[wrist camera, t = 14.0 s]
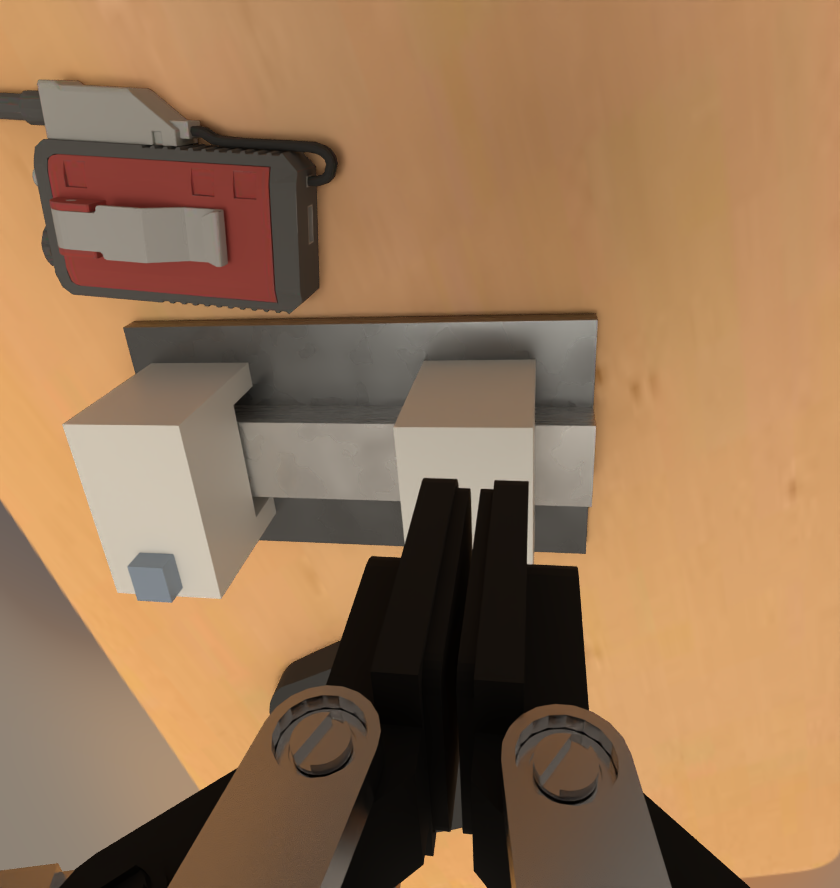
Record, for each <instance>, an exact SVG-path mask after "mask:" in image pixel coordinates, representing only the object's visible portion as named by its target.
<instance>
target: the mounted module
mask: <svg viewBox="0 0 840 888" xmlns="http://www.w3.org/2000/svg"><path fill="white" fill-rule="evenodd" d="M251 387H252V380H251V375H250V370H249V364H248V363H151V364H150V365H148V366H147V367H145V368H144V369H142V370H141V371H139V372H138V373H136V374H135V375H134V376H132V377H131V378H129V379H128V380H126V381H125V382H123V383H122V384H120V385H119V386H117V387H116V388H115V389H113V390H112V391H110V392H109V393H107V394H106V395H104V396H103V397H101V398H100V399H99V400H97V401H96V402H94V403H93V404H91V405H90V406H88V407H87V408H85V409H84V410H83V411H81V412H80V413H78V414H77V415H75V416H74V417H72V418H71V419H69V420H68V421H67V422H65V423H64V424H62V425H63V428H64V431H65V434H66V437H67V440H68V443H69V446H70V449H71V452H72V455H73V458H74V461H75V464H76V468H77V471H78V474H79V477H80V480H81V483H82V486H83V489H84V492H85V495H86V498H87V501H88V504H89V507H90V510H91V513H92V516H93V519H94V522H95V525H96V528H97V531H98V534H99V537H100V540H101V543H102V547H103V550H104V553H105V556H106V559H107V562H108V565H109V568H110V571H111V574H112V577H113V580H114V583H115V586H116V589H117V592H118V593H130V594H136V596H137V600H138V601H154V602H171V603H172V602H173V600H174V599H175V598H176V596H182V597H199V598H216V599H221V598H222V597H223V595H224V594H225V592H226V590H227V589H228V587H229V586H230V584H231V583H232V581H233V580H234V578H235V576H236V575H237V573H238V572H239V570H240V569H241V567H242V566H243V564H244V562H245V561H246V559H247V558H248V556H249V555H250V553H251V552H252V550H253V548H254V547H255V545H256V544H257V542H258V541H259V539H260V537H261V536H262V534H263V533H264V531H265V530H266V528H267V527H268V525H269V523H270V522H271V520H272V519H273V517H274V516H275V514H276V509H275V503H274V498H273V497H252V494H251V489H250V484H249V479H248V474H247V469H246V465H245V460H244V455H243V450H242V445H241V440H240V435H239V430H238V425H237V420H236V415H235V410H234V406H233V405H234V404H235V403H236V402H237V401H238V400H239V399H240V398H241V397H242V396H243V395H244V394H245V393H246V392H247V391H248V390H249V389H250V388H251Z"/></svg>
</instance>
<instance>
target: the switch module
mask: <svg viewBox="0 0 840 888" xmlns="http://www.w3.org/2000/svg"><path fill="white" fill-rule="evenodd" d="M535 388H536V359H526V360H445V361H423V363H422V365H421V368H420V370H419V372H418V374H417V376H416V379H415V381H414V383H413V385H412V387H411V389H410V392H409V394H408V396H407V398H406V400H405V403H404V405H403V407H402V409H401V411H400V414H399V416H398V418H397V420H396V422H395V425H394V427H393V430H394V440H395V450H396V460H397V470H398V480H399V491H400V501H401V511H402V521H403V531H404V542H405V541H406V538H407V534H408V530H409V526H410V523H411V519H412V515H413V512H414V508H415V504H416V501H417V497H418V493H419V490H420V486H421V482H422V480H423V478H446V479H457V480H458V485H459V488H470V489H471V512H472V549H473V542H474V534H475V527H476V519H477V512H478V504H479V497H480V490H481V489H493V488H494V481H495V480H509V481H529V497H528V539H527V564H534V543H535Z"/></svg>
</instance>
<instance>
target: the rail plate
mask: <svg viewBox="0 0 840 888" xmlns="http://www.w3.org/2000/svg"><path fill="white" fill-rule="evenodd" d="M597 325H598V319H597V315H596V313H587V314H530V315H474V316H417V317H360V318H304V319H247V320H190V321H134V322H132V323H131V324H129V325H127V326H125V327H123V329H124V333H125V336H126V340H127V344H128V347H129V351H130V355H131V359H132V362H133V366H134V370H135V374H136V373H138V372H139V371H141V370H142V369H144V368H145V367H147V366H148V365H150V364H151V363H248V364H249V370H250V375H251V380H252V387H251V388H250V389H249V390H248V391H247V392H246V393H245V394H244V395H243V396H242V397H241V398H240V399H239V400H238V401H237V402H236V403H235V404H234V405H233V406H234V410H235V415H236V420H237V425H238V430H239V435H240V440H241V445H242V450H243V455H244V460H245V465H246V469H247V474H248V479H249V484H250V489H251V494H252V497H273V498H274V503H275V509H276V514H275V516H274V517H273V519H272V520H271V522H270V523H269V525H268V527H267V528H266V530H265V531H264V533H263V534H262V536H261V537H260V539H259V540H267V541H291V542H315V543H339V544H363V545H387V546H404V545H405V542H404V531H403V521H402V511H401V501H400V491H399V480H398V470H397V460H396V450H395V440H394V430H393V427H394V425H395V422H396V420H397V418H398V416H399V414H400V411H401V409H402V407H403V405H404V403H405V400H406V398H407V396H408V394H409V392H410V389H411V387H412V385H413V383H414V381H415V379H416V376H417V374H418V372H419V370H420V368H421V365H422V363H423V361H445V360H526V359H536V388H535V543H534V552H555V553H579V554H586V537H587V518H588V507H592V492H593V473H594V455H595V437H596V422H595V416H594V409H593V402H594V383H595V363H596V344H597Z"/></svg>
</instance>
